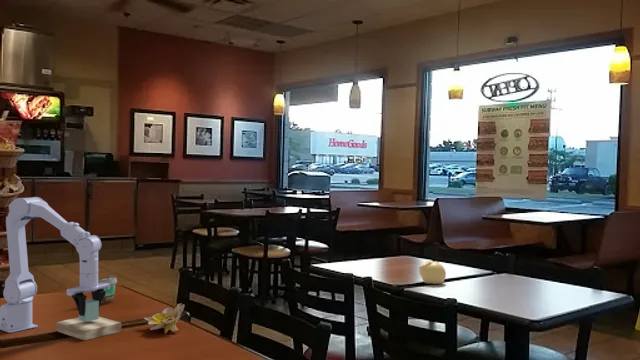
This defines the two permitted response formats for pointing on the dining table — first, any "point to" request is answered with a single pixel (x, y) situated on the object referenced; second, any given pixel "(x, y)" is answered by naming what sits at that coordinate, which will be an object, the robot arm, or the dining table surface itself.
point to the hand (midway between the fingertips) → (88, 313)
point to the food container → (109, 292)
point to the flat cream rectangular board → (88, 328)
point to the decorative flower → (166, 318)
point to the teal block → (90, 310)
